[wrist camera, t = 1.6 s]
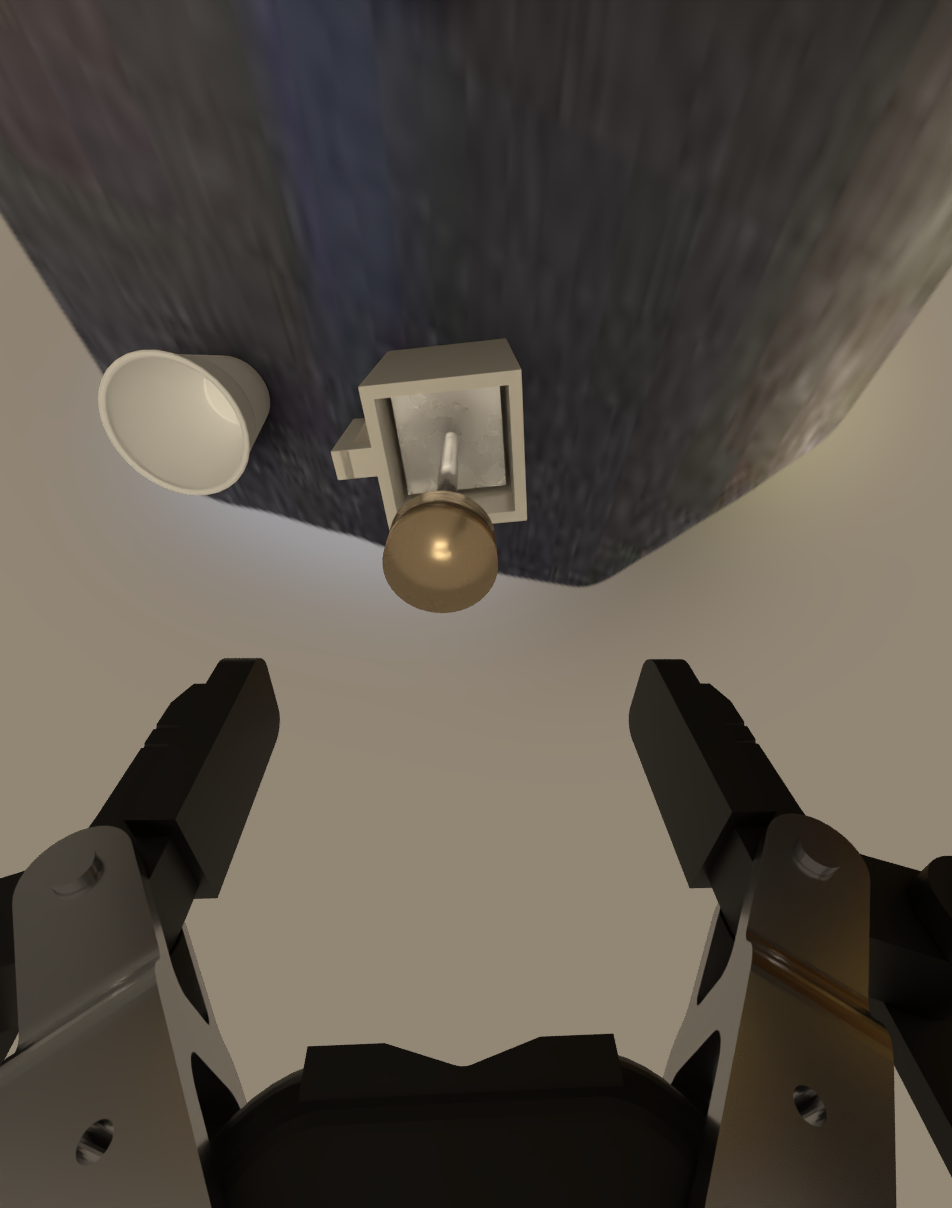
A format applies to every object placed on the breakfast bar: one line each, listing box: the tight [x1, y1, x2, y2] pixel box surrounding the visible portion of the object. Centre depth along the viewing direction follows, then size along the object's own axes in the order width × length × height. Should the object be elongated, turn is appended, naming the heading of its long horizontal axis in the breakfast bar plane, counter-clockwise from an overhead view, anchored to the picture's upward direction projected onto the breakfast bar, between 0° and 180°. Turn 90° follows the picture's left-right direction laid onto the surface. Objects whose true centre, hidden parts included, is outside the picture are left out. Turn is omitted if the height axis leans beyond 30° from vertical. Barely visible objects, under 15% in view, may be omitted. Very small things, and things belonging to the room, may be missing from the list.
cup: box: [98, 350, 270, 495], centre depth 39 cm, size 10×10×11 cm
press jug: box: [331, 338, 527, 530], centre depth 38 cm, size 13×10×14 cm
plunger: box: [383, 386, 506, 613], centre depth 29 cm, size 8×8×19 cm
